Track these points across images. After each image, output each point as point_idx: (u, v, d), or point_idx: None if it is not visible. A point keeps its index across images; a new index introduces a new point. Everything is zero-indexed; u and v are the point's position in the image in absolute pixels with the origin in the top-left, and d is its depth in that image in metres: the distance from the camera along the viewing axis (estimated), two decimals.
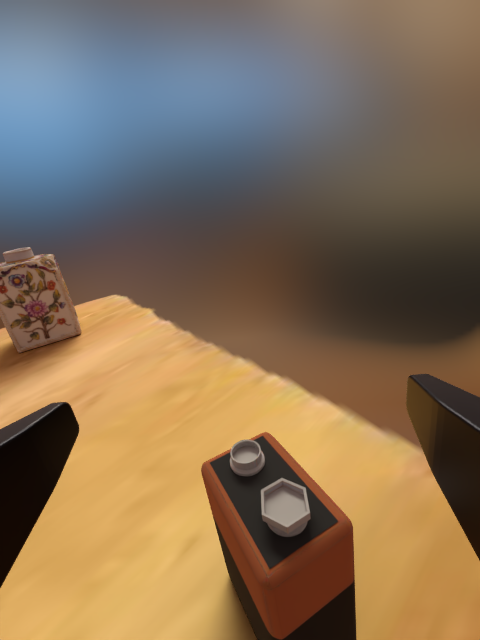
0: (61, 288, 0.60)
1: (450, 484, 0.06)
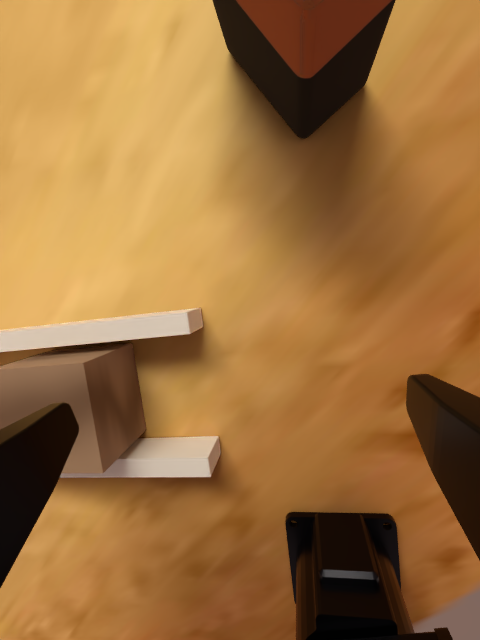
0: None
1: (450, 484, 0.06)
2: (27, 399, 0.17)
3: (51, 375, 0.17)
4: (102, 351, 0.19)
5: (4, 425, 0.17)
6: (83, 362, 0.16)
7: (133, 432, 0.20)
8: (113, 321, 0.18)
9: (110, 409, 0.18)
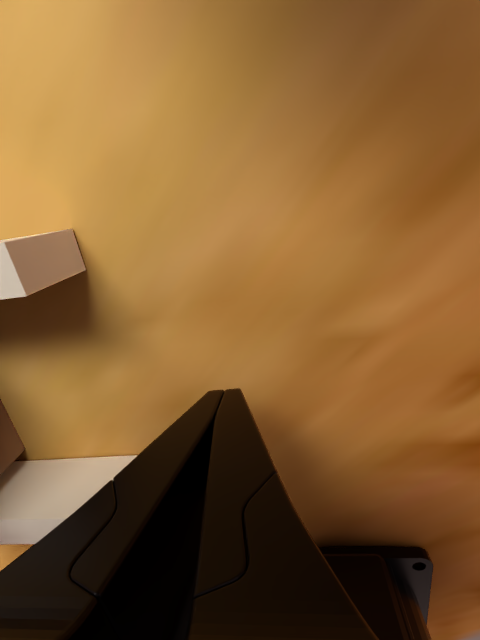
0: None
1: None
2: None
3: None
4: None
5: None
6: None
7: None
8: None
9: None
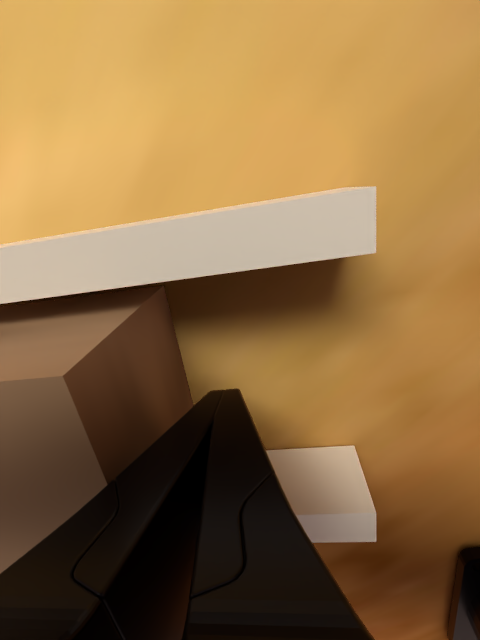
0: None
1: None
2: None
3: None
4: (103, 315, 0.08)
5: None
6: (63, 371, 0.05)
7: None
8: (145, 227, 0.06)
9: None
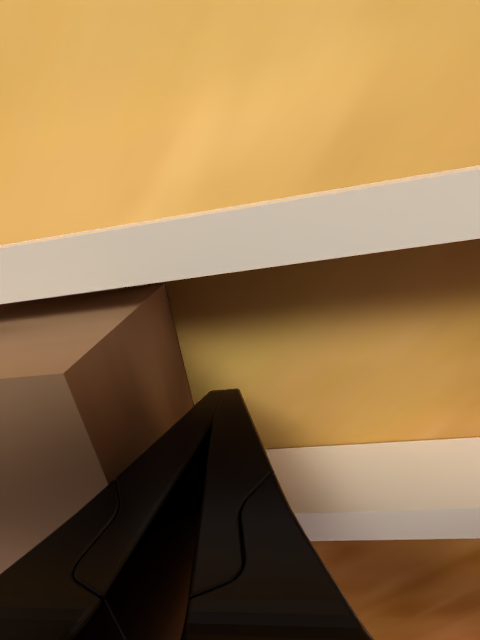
0: None
1: None
2: None
3: None
4: (104, 313, 0.07)
5: None
6: (63, 368, 0.05)
7: None
8: (411, 184, 0.06)
9: None
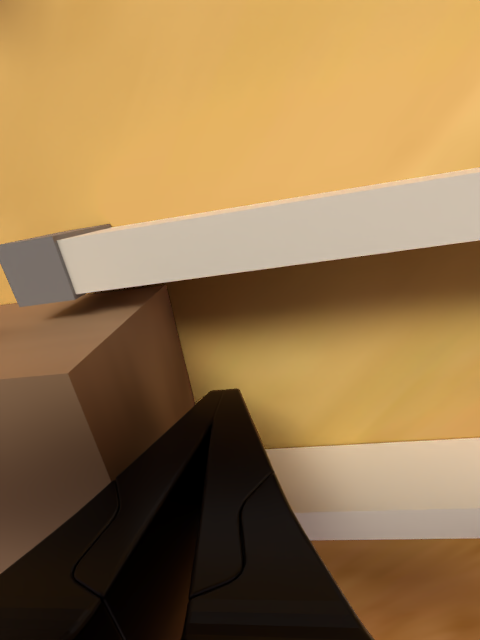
0: None
1: None
2: None
3: None
4: (106, 314, 0.08)
5: None
6: (67, 368, 0.05)
7: None
8: None
9: None
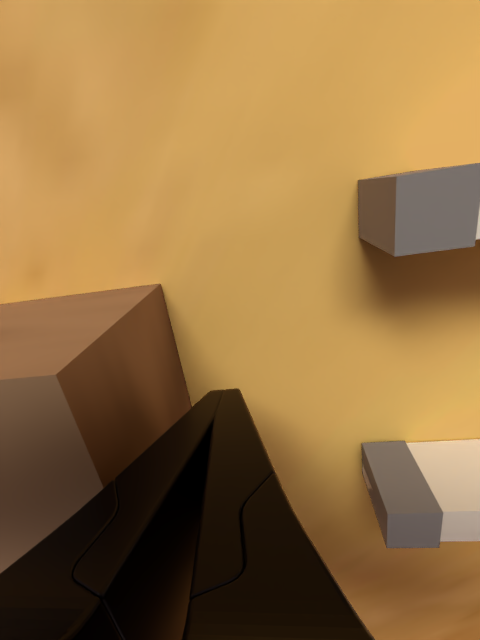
0: None
1: None
2: None
3: None
4: (99, 314, 0.07)
5: None
6: (56, 369, 0.05)
7: None
8: None
9: None
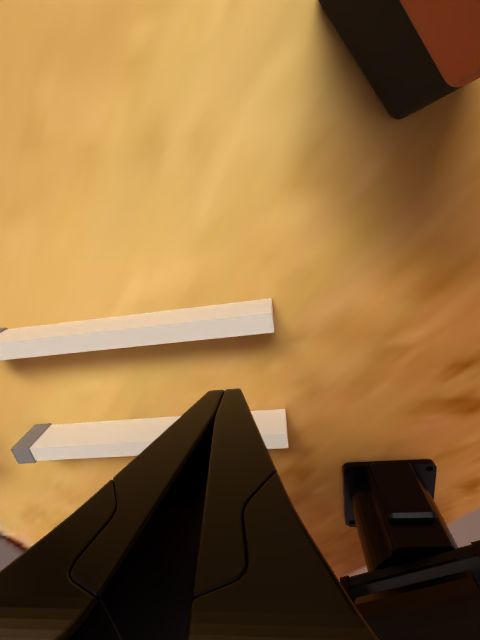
0: None
1: None
2: None
3: None
4: None
5: None
6: None
7: None
8: (194, 322, 0.18)
9: None
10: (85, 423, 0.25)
